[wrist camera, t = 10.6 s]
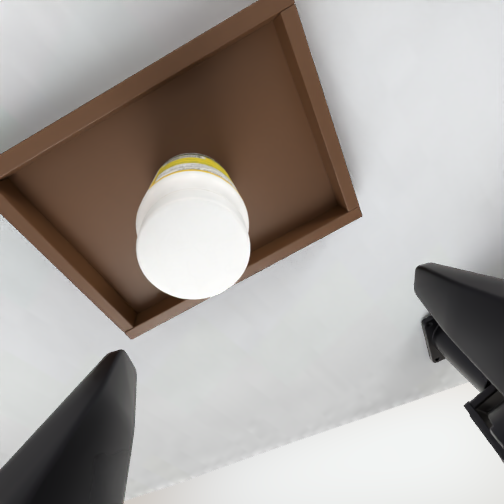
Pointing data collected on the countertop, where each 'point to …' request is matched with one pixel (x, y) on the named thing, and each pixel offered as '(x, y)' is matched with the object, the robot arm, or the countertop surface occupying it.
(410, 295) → the countertop surface
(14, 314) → the countertop surface
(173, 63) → the tray
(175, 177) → the supplement bottle
